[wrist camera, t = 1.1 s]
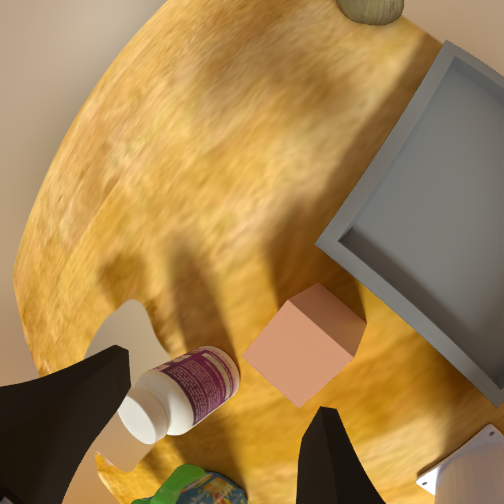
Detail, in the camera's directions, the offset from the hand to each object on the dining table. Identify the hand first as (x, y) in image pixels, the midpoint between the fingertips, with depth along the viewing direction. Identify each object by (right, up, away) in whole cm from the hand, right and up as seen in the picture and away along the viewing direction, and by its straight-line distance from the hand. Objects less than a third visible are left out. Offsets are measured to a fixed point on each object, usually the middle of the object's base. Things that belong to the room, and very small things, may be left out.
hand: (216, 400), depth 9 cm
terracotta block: (+6, 0, +10) cm, 12 cm away
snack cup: (-2, -22, +16) cm, 27 cm away
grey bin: (+17, +7, +4) cm, 19 cm away
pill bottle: (-2, -5, +15) cm, 16 cm away
